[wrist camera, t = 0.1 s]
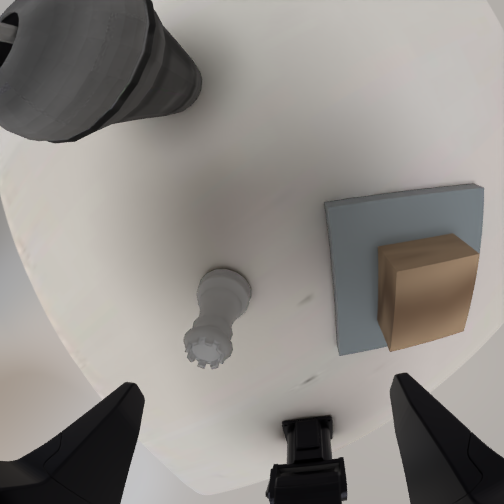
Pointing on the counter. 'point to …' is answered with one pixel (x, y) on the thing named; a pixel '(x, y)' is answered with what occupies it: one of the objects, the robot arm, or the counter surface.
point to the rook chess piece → (216, 316)
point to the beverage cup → (88, 67)
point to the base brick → (424, 289)
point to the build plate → (384, 233)
